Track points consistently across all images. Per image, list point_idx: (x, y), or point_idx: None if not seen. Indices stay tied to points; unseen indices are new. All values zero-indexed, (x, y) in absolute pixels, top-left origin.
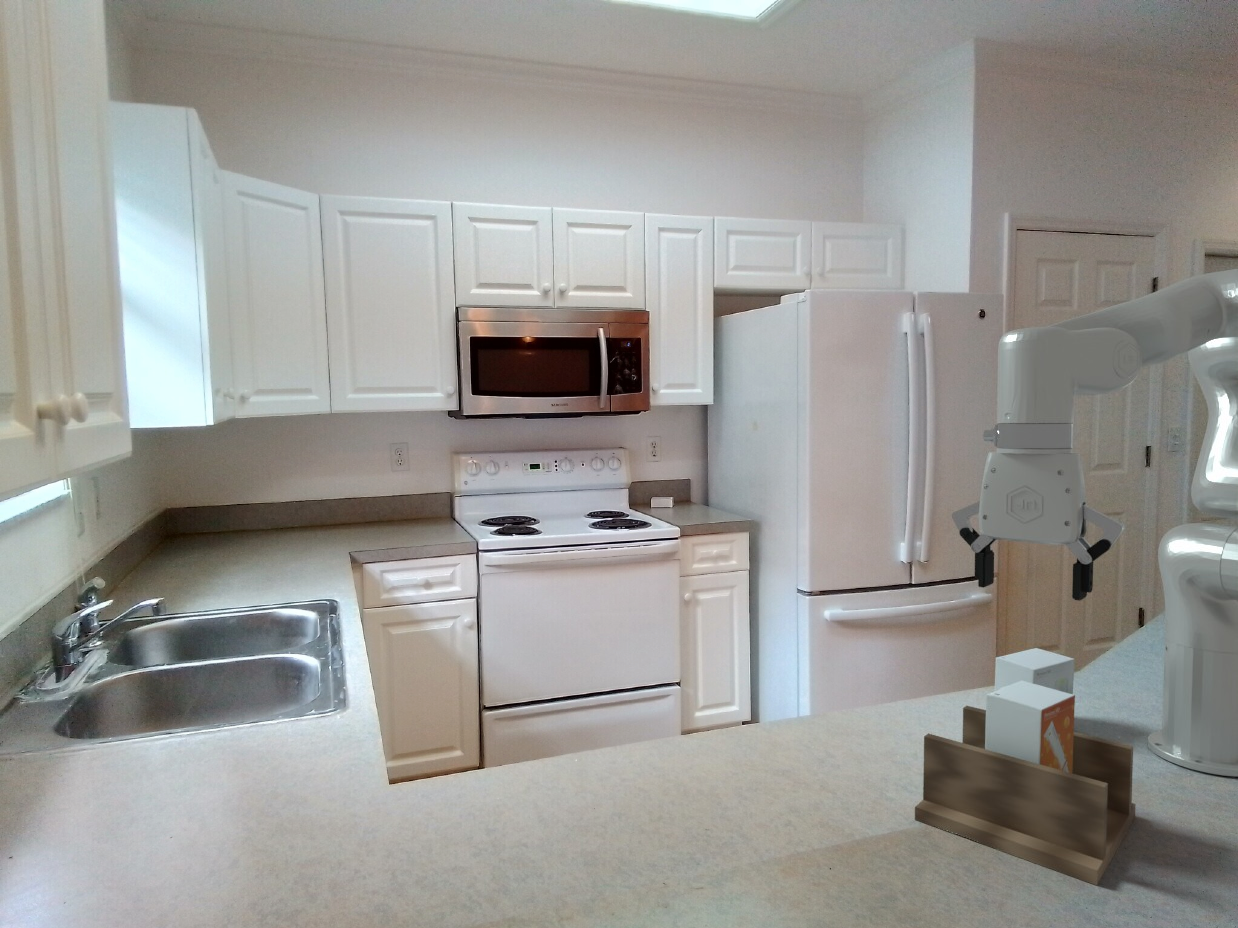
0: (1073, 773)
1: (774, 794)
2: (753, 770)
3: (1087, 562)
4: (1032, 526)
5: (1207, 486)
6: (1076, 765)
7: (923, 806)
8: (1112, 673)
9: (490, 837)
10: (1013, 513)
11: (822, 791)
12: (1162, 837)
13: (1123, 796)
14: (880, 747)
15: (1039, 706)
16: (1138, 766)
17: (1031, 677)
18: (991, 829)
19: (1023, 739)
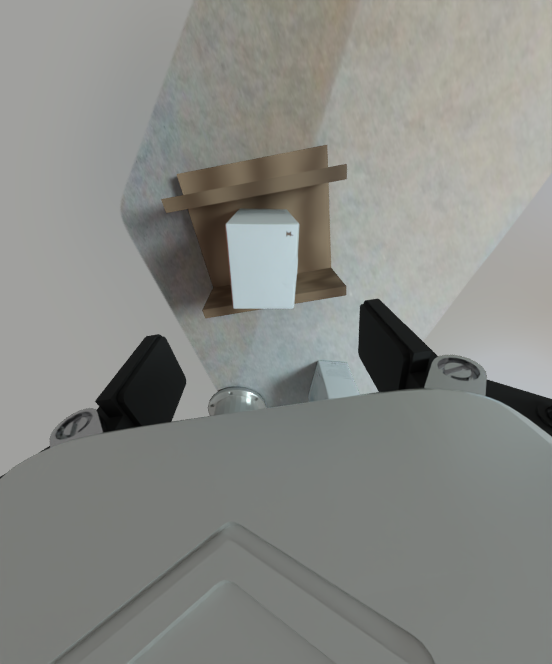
0: None
1: (463, 48)
2: (505, 86)
3: (81, 417)
4: (177, 510)
5: None
6: None
7: (321, 153)
8: None
9: None
10: (346, 657)
11: (418, 115)
12: (197, 289)
13: (214, 292)
14: (403, 261)
15: (233, 233)
16: (254, 371)
17: (329, 395)
18: (260, 166)
19: (249, 216)
